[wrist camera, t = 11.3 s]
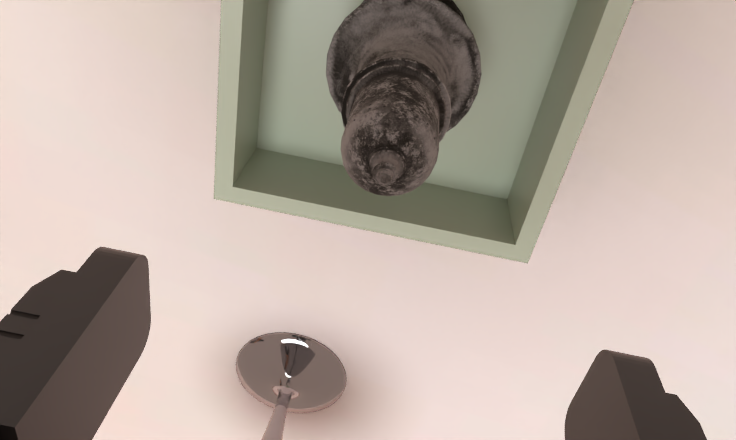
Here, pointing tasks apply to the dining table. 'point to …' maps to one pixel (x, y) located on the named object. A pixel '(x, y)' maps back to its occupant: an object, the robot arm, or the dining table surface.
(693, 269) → the dining table surface
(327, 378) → the wine glass
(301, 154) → the caddy
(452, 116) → the salt shaker
